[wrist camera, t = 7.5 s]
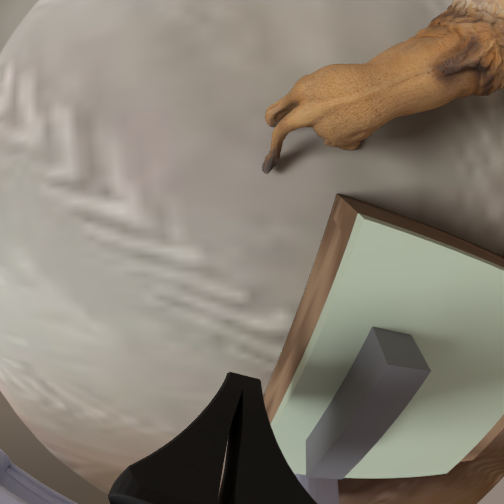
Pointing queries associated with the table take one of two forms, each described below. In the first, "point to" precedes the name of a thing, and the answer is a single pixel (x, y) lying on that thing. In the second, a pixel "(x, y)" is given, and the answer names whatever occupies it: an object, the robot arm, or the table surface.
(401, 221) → the wooden box
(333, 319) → the lid
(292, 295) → the table surface
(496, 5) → the lion figurine
